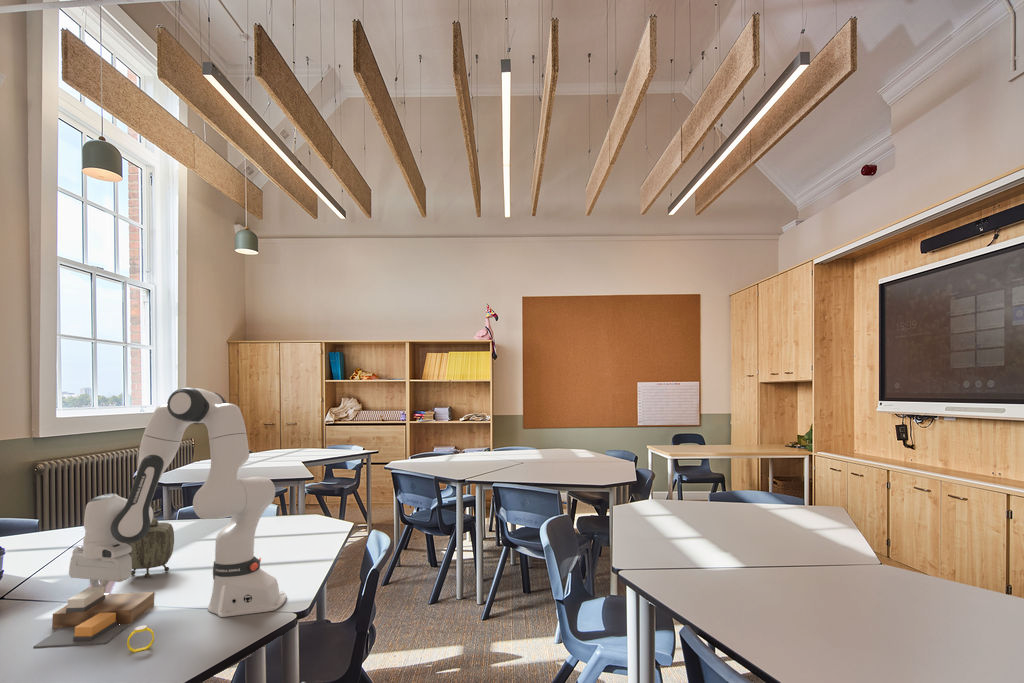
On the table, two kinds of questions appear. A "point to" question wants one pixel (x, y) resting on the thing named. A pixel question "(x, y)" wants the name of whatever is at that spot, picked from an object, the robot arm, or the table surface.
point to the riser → (108, 609)
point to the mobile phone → (108, 587)
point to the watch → (137, 629)
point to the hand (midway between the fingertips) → (99, 593)
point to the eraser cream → (85, 599)
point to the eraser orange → (95, 627)
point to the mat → (66, 639)
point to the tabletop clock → (153, 547)
